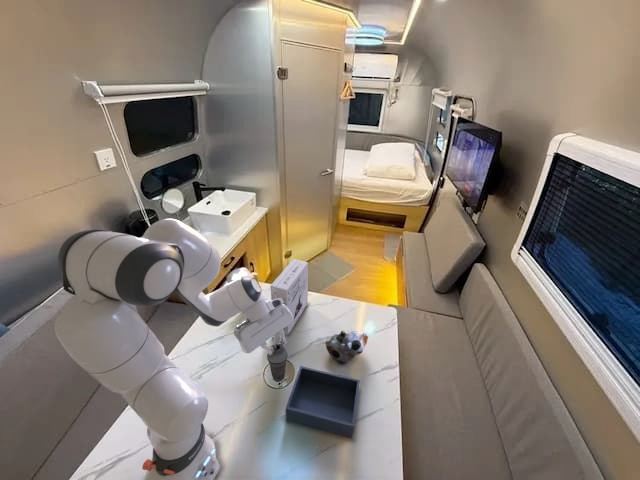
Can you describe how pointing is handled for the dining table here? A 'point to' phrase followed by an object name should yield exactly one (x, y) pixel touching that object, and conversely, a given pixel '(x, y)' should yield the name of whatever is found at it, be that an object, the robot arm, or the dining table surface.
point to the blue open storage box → (324, 401)
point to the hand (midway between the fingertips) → (278, 348)
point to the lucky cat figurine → (346, 345)
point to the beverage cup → (278, 361)
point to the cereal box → (292, 289)
